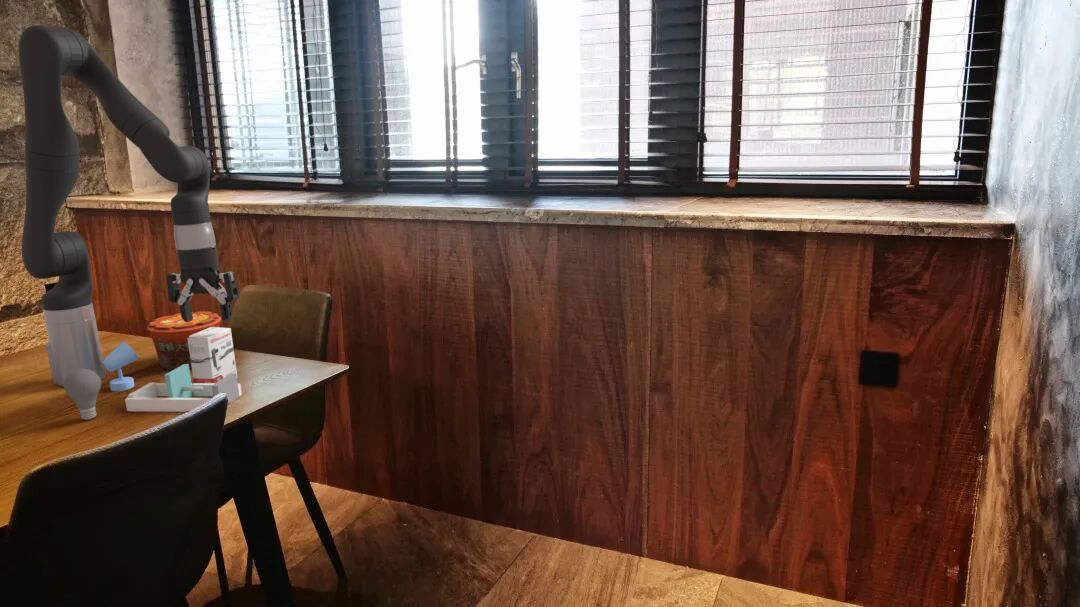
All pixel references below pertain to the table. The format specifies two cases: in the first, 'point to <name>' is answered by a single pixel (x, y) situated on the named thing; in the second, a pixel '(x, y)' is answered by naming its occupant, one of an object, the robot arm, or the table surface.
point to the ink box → (212, 354)
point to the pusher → (180, 383)
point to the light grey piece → (148, 402)
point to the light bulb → (83, 390)
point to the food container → (178, 336)
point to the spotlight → (117, 360)
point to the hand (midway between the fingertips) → (207, 321)
